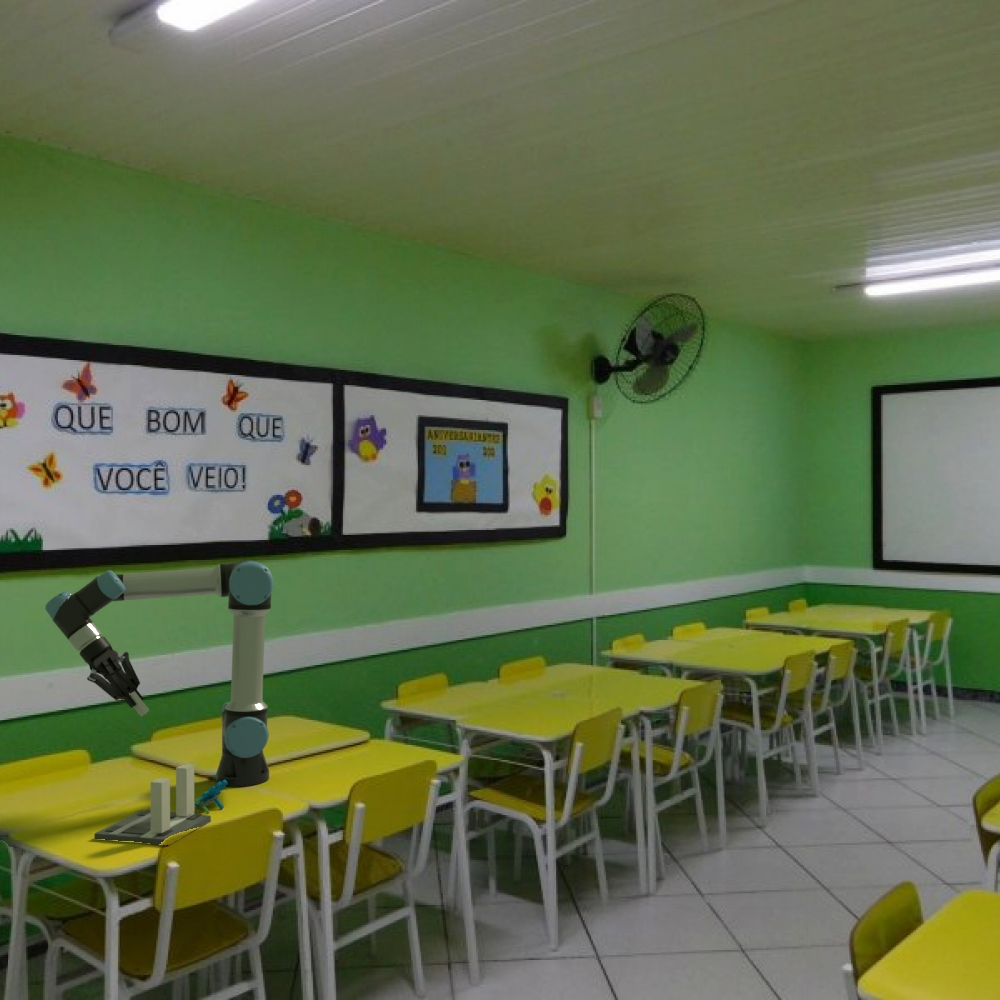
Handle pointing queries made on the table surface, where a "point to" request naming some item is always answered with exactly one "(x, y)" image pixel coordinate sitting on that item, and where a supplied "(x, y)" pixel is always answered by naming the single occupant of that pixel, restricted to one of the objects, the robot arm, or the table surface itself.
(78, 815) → the table surface
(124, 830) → the two post plate
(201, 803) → the blue green branched piece
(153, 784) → the tab
